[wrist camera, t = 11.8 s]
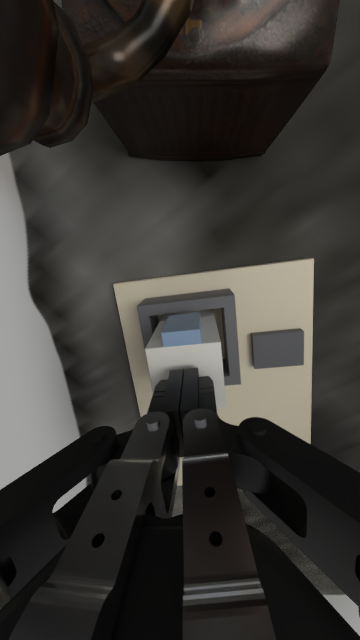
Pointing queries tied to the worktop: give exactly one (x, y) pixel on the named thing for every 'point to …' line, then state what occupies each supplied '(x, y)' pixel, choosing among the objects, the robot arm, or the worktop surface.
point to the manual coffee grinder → (161, 71)
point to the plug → (187, 349)
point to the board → (236, 336)
